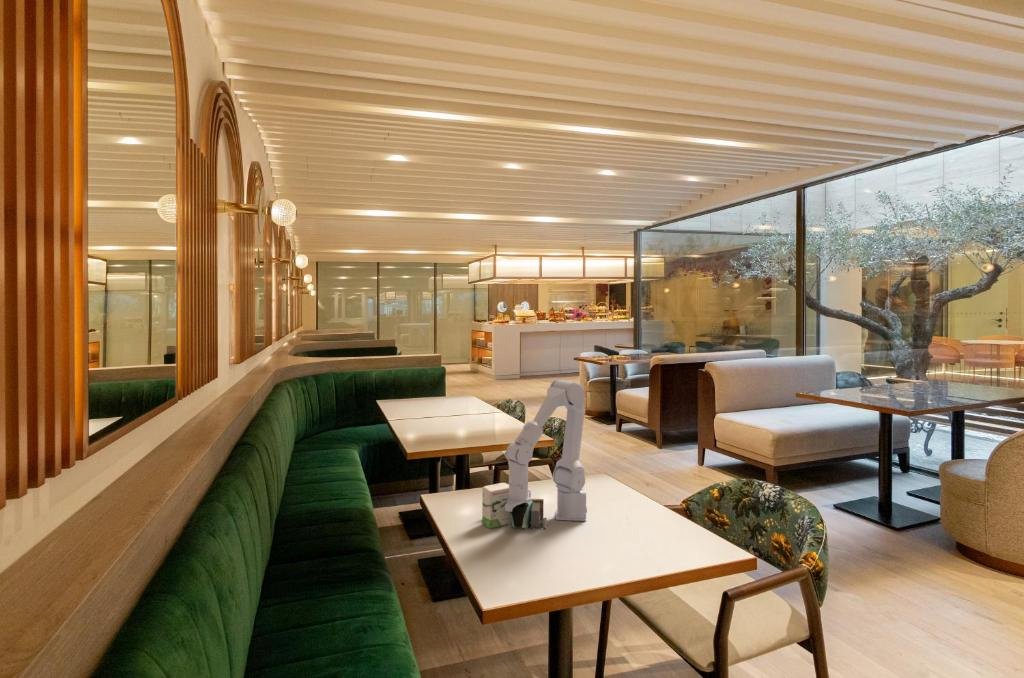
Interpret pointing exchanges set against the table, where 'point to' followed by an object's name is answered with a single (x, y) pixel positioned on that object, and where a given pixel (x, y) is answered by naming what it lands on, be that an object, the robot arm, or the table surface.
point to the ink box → (495, 505)
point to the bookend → (537, 517)
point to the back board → (540, 506)
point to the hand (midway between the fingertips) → (518, 527)
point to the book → (526, 516)
